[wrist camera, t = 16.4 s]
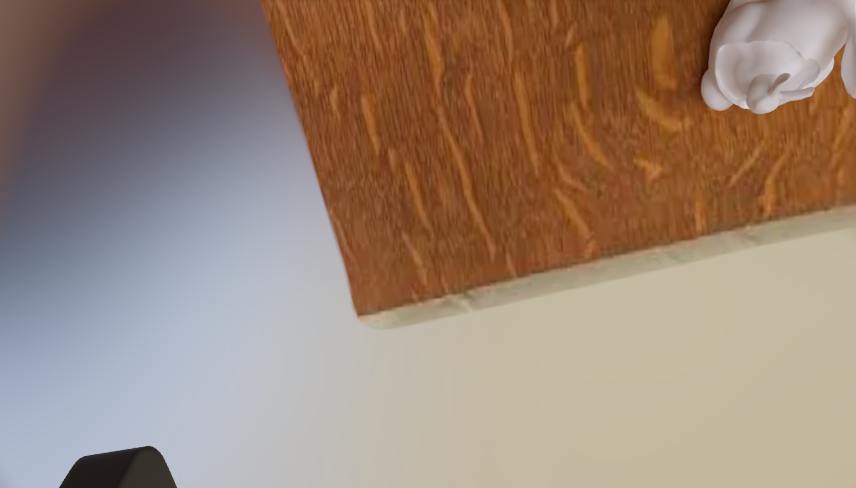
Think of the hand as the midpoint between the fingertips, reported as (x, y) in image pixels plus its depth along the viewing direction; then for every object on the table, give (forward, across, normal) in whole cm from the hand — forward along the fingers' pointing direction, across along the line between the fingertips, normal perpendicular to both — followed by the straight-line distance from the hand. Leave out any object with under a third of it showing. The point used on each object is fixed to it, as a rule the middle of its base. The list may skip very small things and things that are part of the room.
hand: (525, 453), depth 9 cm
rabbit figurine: (+40, -17, +6) cm, 44 cm away
